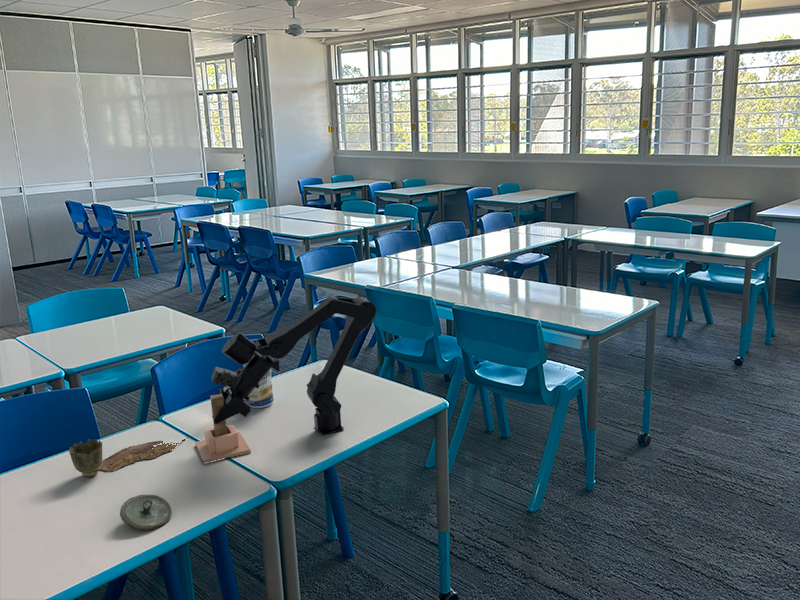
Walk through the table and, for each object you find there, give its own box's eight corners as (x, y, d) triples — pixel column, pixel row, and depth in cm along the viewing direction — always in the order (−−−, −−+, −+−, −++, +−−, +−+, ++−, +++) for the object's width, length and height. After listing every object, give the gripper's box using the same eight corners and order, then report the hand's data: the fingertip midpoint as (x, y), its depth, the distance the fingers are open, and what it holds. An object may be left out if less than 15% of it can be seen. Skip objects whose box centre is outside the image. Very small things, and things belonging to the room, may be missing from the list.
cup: (74, 485, 159) (69, 455, 157) (73, 472, 165) (68, 443, 163) (107, 477, 162) (103, 448, 160) (105, 465, 168) (100, 436, 166)
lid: (146, 503, 150) (143, 484, 149) (182, 510, 146) (179, 490, 145) (111, 529, 140) (108, 508, 139) (148, 538, 137) (145, 516, 136)
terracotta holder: (239, 435, 182) (238, 418, 181) (250, 452, 172) (249, 435, 171) (195, 445, 177) (193, 428, 176) (204, 464, 167) (201, 446, 166)
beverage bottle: (271, 396, 209) (266, 336, 204) (276, 406, 201) (271, 344, 196) (244, 400, 206) (238, 340, 201) (248, 411, 198) (242, 348, 193)
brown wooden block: (227, 439, 176) (222, 393, 173) (228, 443, 173) (223, 397, 170) (215, 441, 175) (210, 395, 172) (216, 446, 172) (211, 399, 169)
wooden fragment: (96, 478, 162) (96, 474, 162) (85, 462, 171) (85, 458, 171) (197, 446, 178) (197, 442, 177) (183, 433, 186) (182, 429, 186)
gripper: (224, 346, 178) (186, 391, 177) (232, 368, 161) (191, 417, 160) (256, 369, 183) (219, 413, 182) (267, 392, 166) (227, 441, 165)
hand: (214, 420), depth 172 cm, fingers closed on brown wooden block, 3 cm apart
